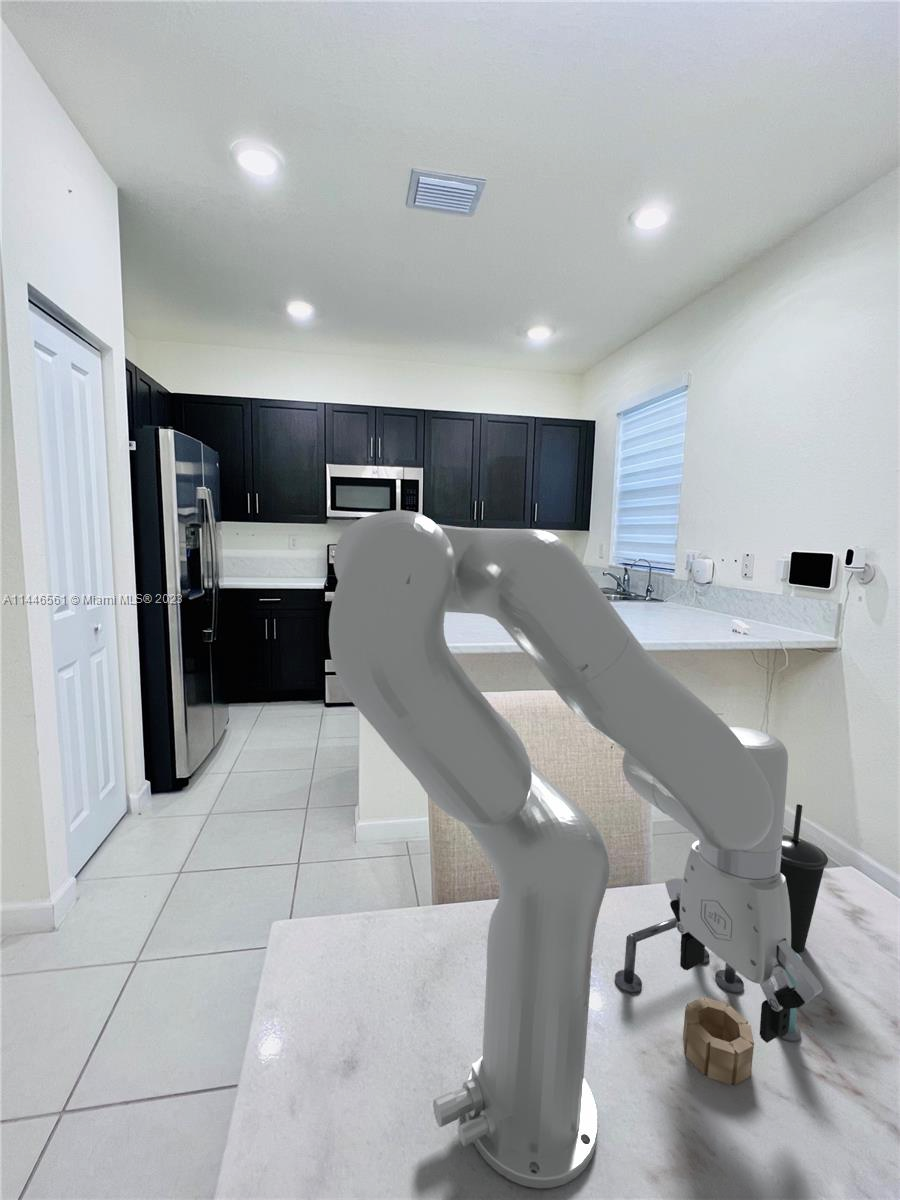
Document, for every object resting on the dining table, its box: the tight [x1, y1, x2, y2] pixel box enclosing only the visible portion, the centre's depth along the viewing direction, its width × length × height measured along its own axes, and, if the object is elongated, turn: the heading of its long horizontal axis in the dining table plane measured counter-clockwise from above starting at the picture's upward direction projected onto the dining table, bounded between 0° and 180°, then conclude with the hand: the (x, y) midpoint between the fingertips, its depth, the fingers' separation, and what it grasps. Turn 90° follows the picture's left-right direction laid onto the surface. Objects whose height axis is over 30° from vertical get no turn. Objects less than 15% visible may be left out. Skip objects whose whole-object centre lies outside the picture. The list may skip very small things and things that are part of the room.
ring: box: [682, 996, 755, 1086], centre depth 58 cm, size 6×6×4 cm
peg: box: [776, 953, 803, 1043], centre depth 61 cm, size 3×3×9 cm
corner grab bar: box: [614, 916, 745, 995], centre depth 67 cm, size 15×8×6 cm, turn 115°
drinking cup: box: [780, 803, 829, 954], centre depth 74 cm, size 8×8×20 cm
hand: (729, 997), depth 58 cm, fingers open, 9 cm apart
